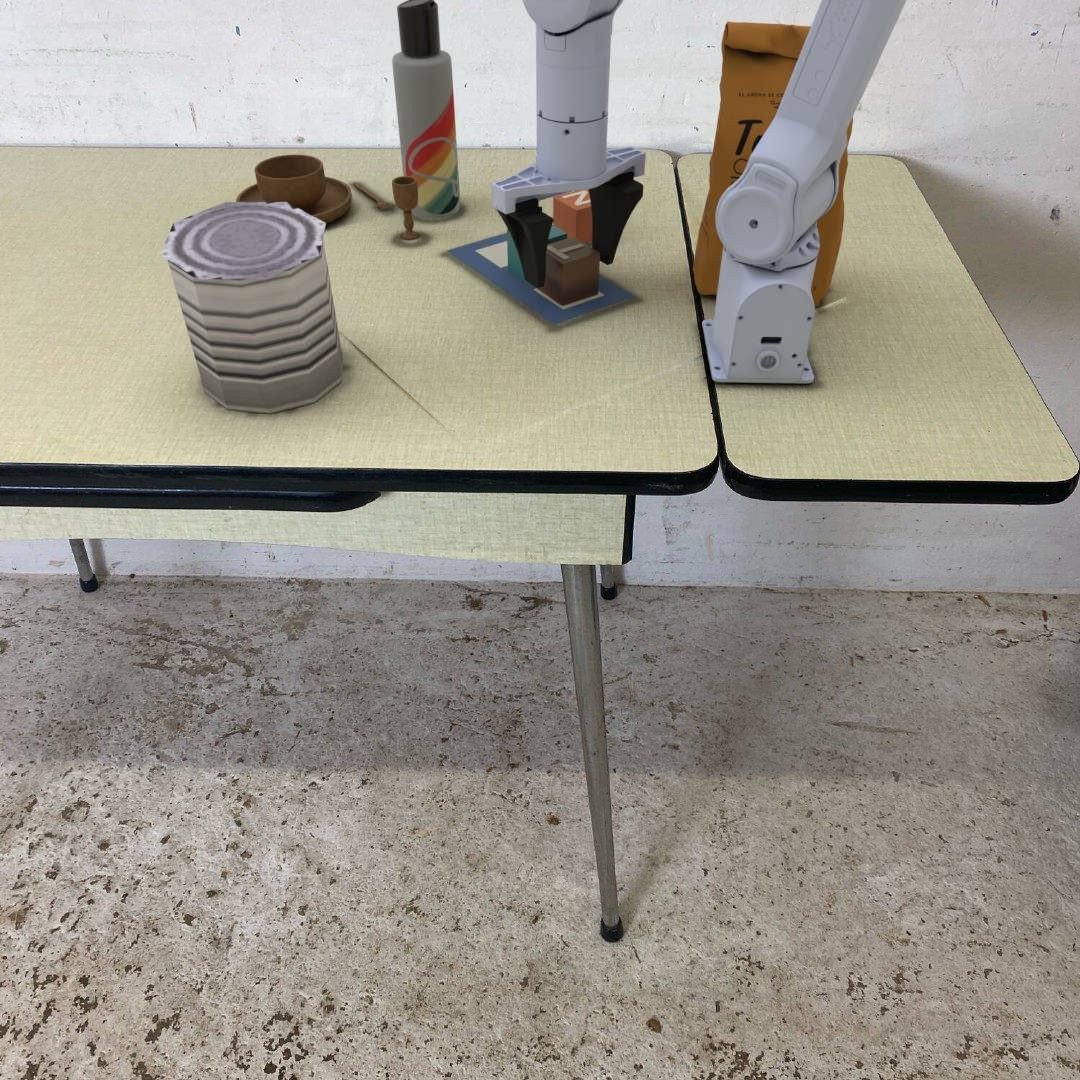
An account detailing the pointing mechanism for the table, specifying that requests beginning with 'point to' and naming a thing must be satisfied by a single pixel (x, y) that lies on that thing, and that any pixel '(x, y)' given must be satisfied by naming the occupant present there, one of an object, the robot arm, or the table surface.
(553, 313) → the word mat
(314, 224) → the can
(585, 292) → the brown letter t cube
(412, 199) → the place setting
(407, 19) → the lotion bottle
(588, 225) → the orange letter cube
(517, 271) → the tile
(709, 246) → the coffee package
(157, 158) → the table surface
